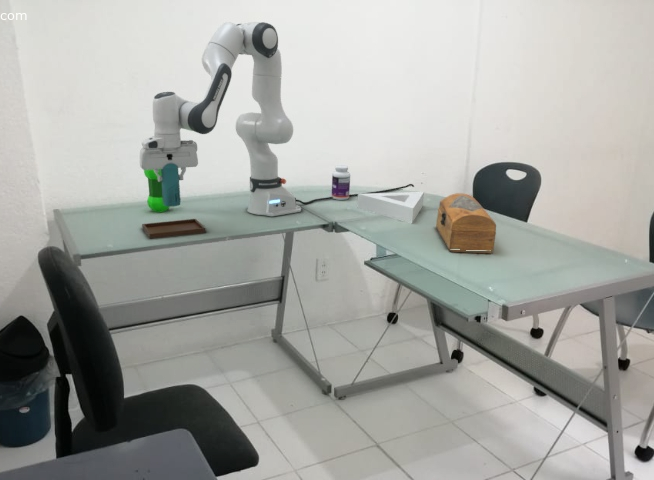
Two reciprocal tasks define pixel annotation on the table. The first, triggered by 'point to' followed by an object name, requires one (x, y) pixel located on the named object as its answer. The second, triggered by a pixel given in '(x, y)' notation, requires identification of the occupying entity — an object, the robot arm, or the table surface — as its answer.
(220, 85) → the robot arm
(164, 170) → the beverage bottle
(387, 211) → the triangle block
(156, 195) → the plastic bottle
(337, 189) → the pill bottle
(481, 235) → the wooden box
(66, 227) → the table surface
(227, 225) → the table surface
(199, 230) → the tray
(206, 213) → the table surface
